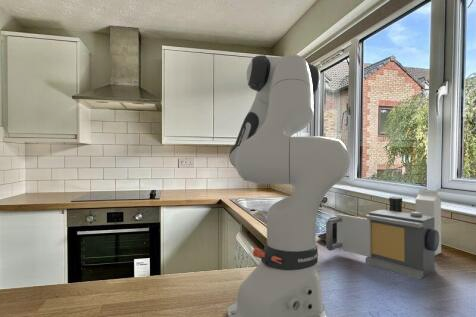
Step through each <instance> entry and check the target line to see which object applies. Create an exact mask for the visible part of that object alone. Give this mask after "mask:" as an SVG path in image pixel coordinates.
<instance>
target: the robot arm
mask: <svg viewBox="0 0 476 317" xmlns="http://www.w3.org/2000/svg"><path fill="white" fill-rule="evenodd" d="M246 80H247V86H248V87H249V88H250V89H251V90H253V91H255V92H256V95H255V97H254V100H253V103H252V104H251V107H250V109H249V110H248V113H247V114H246V115H245V117H244V120H243V122H242V124H241V126H240V130H239V132H238V136H237V137H236V141H235V143H234V145H233V146H232V147H230V151H229V155H228V156H229V161H230V163H231V165H232V166H233V167H235V169H236V171H237V173H238V175H239V176H240V178H241V179H242V180H243V181H247V182H251V183H254V184H260V185H291V186H292V187H294V190H293V192H292V193H291V194H290V195H289V196H287V197H285V198H282V199H280V200H278V201H277V202H275V203H274V204H272V205H271V206H270V207H269V209H268V210H267V213H266V242H265V244H264V248H263V249H261V248H259V247H254V248H253V250H252V256H253V257H255V258H258V259H260V262H259V263H258V265H257V266H256V267H255V268H254V269H253V270H252V272H251V273H250V274H249V275H248V277H246V278H245V279H244V280H243V282H242V283H241V284H240V286H239V289H238V293H237V301H236V302H235V303H233V304H231V305H229V306H228V307H227V308H226V315H228V316H227V317H327V314H326V312H325V311H324V310H325V308H324V305H323V294H322V285H321V279H320V275H319V272H318V269H317V263H318V262H319V261H318V260H319V252H318V245H317V244H316V235H317V234H316V233H317V232H316V231H317V230H316V229H317V219H318V218H317V217H318V211H319V209H320V208H319V207H320V205H321V203H322V201H323V199H324V197H325V196H326V195H327V193H328V192H329V191H330V190H331V188H333V187H334V186H335V185H337V184H338V183H340V181H342V180H343V179H344V177H346V175H347V173H348V171H349V168H350V163H351V162H350V160H351V157H350V154H349V151H348V148H347V147H346V145H345V144H344V142H343V141H341V140H340V139H336V138H332V137H327V136H320V135H319V136H318V135H317V136H315V135H314V136H293V135H295V134H297V133H298V132H301V131H303V130H304V129H305V128H307V127H308V126H309V124H310V123H311V122H312V120H313V118H314V96H315V95H316V93H317V92H318V89H319V86H320V84H321V83H320V82H321V73H320V70H319V68H318V67H317V66H315V65H314V64H311V63H309V62H307V60H306V59H305V58H304V57H303V56H301V55H297V54H286V55H284V56H282V57H280V56H266V55H265V54H264V55H256V56H253V58H251V60H250V63H249V64H248V65H247V69H246Z"/></svg>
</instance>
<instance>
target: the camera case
mask: <svg viewBox="0 0 476 317" xmlns="http://www.w3.org/2000/svg"><path fill="white" fill-rule="evenodd" d="M364 218H365V219H371V257H367V256H365V264H367V265H371V266H374V267H378V268H381V269H384V270H387V271H391V272H393V273H397V274H400V275H401V274H402V275H405V276H408V277H411V278H415V279H418V280H421V279H423V278H424V277H426V276H428V275H430V274H431V273H433V272H434V271H436V270H435V269H436V268H435V266H436V265H435V264H436V263H435V258H436V255H435V251H436V250H437V248H438V245H439V233H438V231H437V230H434V217H431V216H424V215H422V213H421V212H416V211H410V213H409V212H403V211H402V212H395V211H389V210H387V209H378V210H375V211H374V210H373V211H369V212H368V214H366V215H365V217H364Z"/></svg>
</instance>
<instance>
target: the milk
mask: <svg viewBox="0 0 476 317" xmlns="http://www.w3.org/2000/svg"><path fill="white" fill-rule="evenodd" d="M414 202H415V206H414V207H415V212H421V213H422V215H424V216H431V217H434V230H437V231H438V233H439V245H438V248H437V250H436V251H435V256H437V255H439V254H442V199H441V197H440V196H439V194H438V191H437V190H429V189H419V190H418V194H417V196H416V198H415V200H414Z"/></svg>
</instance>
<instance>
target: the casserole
mask: <svg viewBox="0 0 476 317" xmlns="http://www.w3.org/2000/svg"><path fill="white" fill-rule="evenodd" d="M334 218H337V216H334V217H330V218H329V219H334ZM317 237H318V238H319V239H320V240H322V241H325V242H326V232H324V233H320V234H318V235H317ZM332 241H333V244H336V243H337V223H333V224H332Z"/></svg>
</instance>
